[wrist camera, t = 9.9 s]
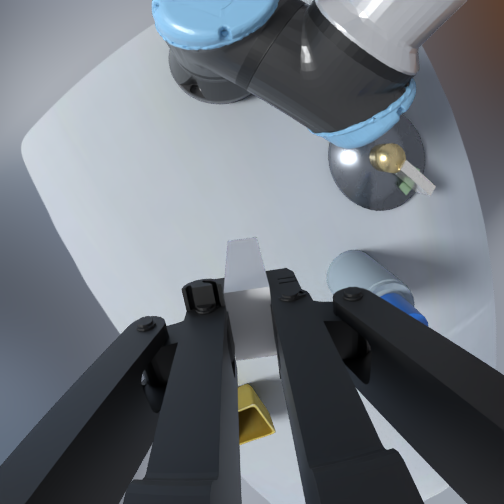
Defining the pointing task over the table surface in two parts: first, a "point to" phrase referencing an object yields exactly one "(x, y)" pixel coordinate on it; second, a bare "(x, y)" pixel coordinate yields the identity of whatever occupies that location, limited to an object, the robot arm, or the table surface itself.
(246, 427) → the gold square bowl
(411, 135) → the gauge plate
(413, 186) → the needle dial
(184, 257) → the table surface
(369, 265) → the spray bottle
